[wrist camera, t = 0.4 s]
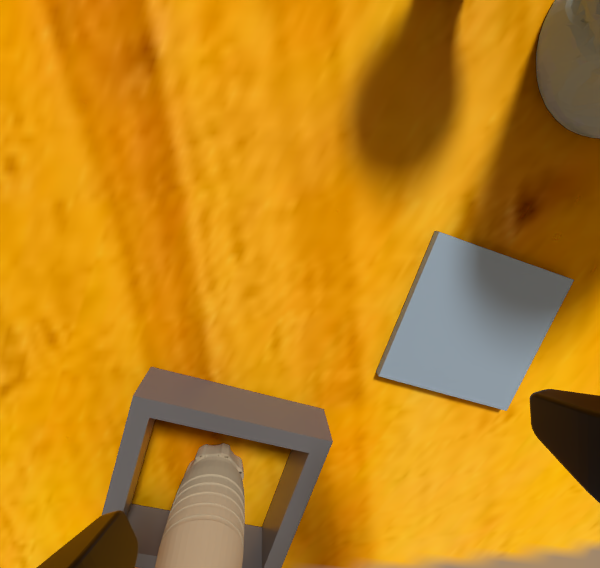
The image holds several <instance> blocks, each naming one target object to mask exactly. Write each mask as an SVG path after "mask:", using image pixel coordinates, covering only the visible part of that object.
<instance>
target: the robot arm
mask: <svg viewBox="0 0 600 568" xmlns="http://www.w3.org/2000/svg"><path fill="white" fill-rule="evenodd" d="M530 413H531V425H532V429H533V431H534V433H535V435H536V436H537V438H538V439H539V440H540V441H541V442H542V443H543V444H544V445H545V446H546V448H547V449H548V450H549V451H550V452H551V453H552V454H553V455H554V456H555V457H556V458H557V459H558V461H559V462H560V463H561V464H562V465H563V466H564V467H565V468H566V469H567V470H568V471H569V473H570V474H571V475H572V476H573V477H574V478H575V479H576V480H577V481H578V482H579V483H580V484H581V485H582V486H583V487H584V488H585V490H586V491H587V492H588V493H589V494H590V495H592V496H593V497H594V498H595V499H596V500H597V501H598V502H599V503H600V396H597V395H590V394H582V393H575V392H568V391H561V390H553V389H546V390H542V391H539V392H535V393H533V394H532V395H531V396H530ZM137 555H138V541H137V537H136V535H135V533H134V531H133V529H132V526H131V524H130V522H129V520H128V518H127V516H126V514H125V513H124V512H123V511H121V510H118V511H114V512H111V513H107V514H104V515H102V516H100V517H99V518H98V519H96V520H95V521H94V522H93V523H91V524H90V525H89V526H88V527H86V528H85V529H84V530H83V531H82V532H80V533H79V534H78V535H77V536H75V537H74V538H73V539H72V540H70V541H69V542H68V543H67V544H65V545H64V546H63V547H62V548H60V549H59V550H58V551H57V552H56V553H54V554H53V555H52V556H51V557H49V558H48V559H47V560H46V561H44V562H43V563H42V564H41V565H39V566H38V567H37V568H135V565H136V560H137Z"/></svg>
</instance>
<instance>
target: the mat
mask: <svg viewBox="0 0 600 568" xmlns="http://www.w3.org/2000/svg"><path fill="white" fill-rule="evenodd" d="M573 281H574V280H573V279H570V278H567V277H565V276H562V275H559V274H556V273H553V272H550V271H548V270H545V269H542V268H539V267H536V266H534V265H531V264H528V263H525V262H522V261H520V260H517V259H514V258H511V257H508V256H506V255H503V254H500V253H497V252H494V251H492V250H489V249H486V248H483V247H480V246H477V245H475V244H472V243H469V242H466V241H463V240H461V239H458V238H455V237H452V236H449V235H447V234H444V233H441V232H438V231H435V232H434V235H433V237H432V239H431V242H430V244H429V247H428V249H427V251H426V254H425V256H424V259H423V261H422V263H421V266H420V268H419V270H418V273H417V275H416V278H415V280H414V282H413V285H412V287H411V290H410V292H409V294H408V297H407V299H406V302H405V304H404V306H403V309H402V311H401V314H400V316H399V318H398V321H397V323H396V326H395V328H394V330H393V333H392V335H391V338H390V340H389V342H388V345H387V347H386V349H385V352H384V354H383V357H382V359H381V361H380V364H379V366H378V369H377V371H376V373H377V375H378V376H380V377H383V378H387V379H391V380H394V381H398V382H402V383H406V384H409V385H413V386H417V387H420V388H424V389H428V390H431V391H435V392H439V393H443V394H446V395H450V396H454V397H457V398H461V399H465V400H468V401H472V402H476V403H480V404H483V405H487V406H491V407H494V408H498V409H502V410H505V411H507V409H508V407H509V405H510V403H511V401H512V399H513V397H514V395H515V393H516V391H517V389H518V388H519V386H520V384H521V382H522V380H523V378H524V376H525V374H526V372H527V370H528V368H529V366H530V364H531V362H532V360H533V359H534V357H535V355H536V353H537V351H538V349H539V347H540V345H541V343H542V341H543V339H544V337H545V335H546V333H547V331H548V329H549V328H550V326H551V324H552V322H553V320H554V318H555V316H556V314H557V312H558V310H559V308H560V306H561V304H562V302H563V300H564V298H565V297H566V295H567V293H568V291H569V289H570V287H571V285H572V283H573Z"/></svg>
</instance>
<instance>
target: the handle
mask: <svg viewBox="0 0 600 568" xmlns="http://www.w3.org/2000/svg"><path fill="white" fill-rule="evenodd" d="M243 477H244V473H243V464H242V460H241V458H240V457H237V456H236V455H235V454H234V453H233V452H232V451H231V449H230V446H229V445H228V444H224V443H222V444H220V445H208V444H206V445H203V446H201V447H200V448H199V450H198V452H197V455H196V457H195V460H193V461H192V462H191V463H190V464H189V466H188V468H187V471H186V473H185V476H184V478H183V480H182V482H181V484H180V487H179V489H178V492H177V494H176V497H175V500H174V502H173V505H172V508H171V511H170V514H169V517H168V520H167V523H166V526H165V530H164V533H163V536H162V540H161V544H160V547H159V551H158V556H157V560H156V565H155V568H242V563H243V551H244V524H245V514H244V489H243V482H242V480H243Z"/></svg>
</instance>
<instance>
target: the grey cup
mask: <svg viewBox="0 0 600 568" xmlns="http://www.w3.org/2000/svg"><path fill="white" fill-rule="evenodd" d="M536 73H537V82H538V86H539V90H540V93H541V96H542V98H543V101H544V103H545V105H546V107H547V109H548V110H549V111H550V113H551V114H552V115H553V117H554V118H555V119H556V120H557V121H558V122H559V123H560V124H561V125H563V126H564V127H565V128H567V129H568V130H570V131H573V132H575V133H577V134H579V135H583V136H587V137H591V138H600V0H555V1H554V3H553V4H552V6H551V8H550V10H549V12H548V14H547V16H546V19H545V21H544V23H543V26H542V29H541V32H540V35H539V40H538V46H537V52H536Z"/></svg>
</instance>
